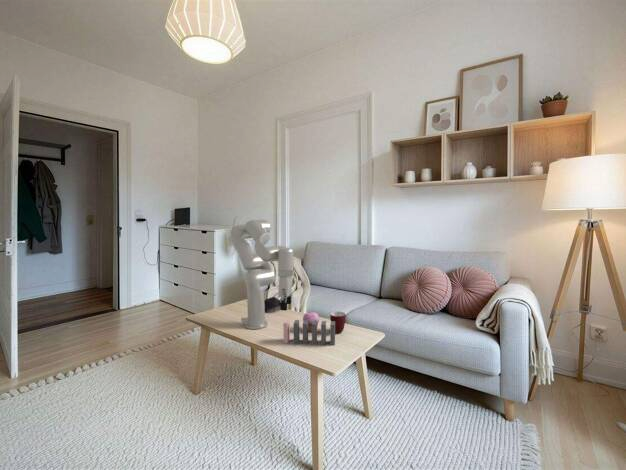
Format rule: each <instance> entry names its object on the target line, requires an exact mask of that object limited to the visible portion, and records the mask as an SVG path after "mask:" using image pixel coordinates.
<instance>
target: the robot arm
mask: <svg viewBox="0 0 626 470" xmlns="http://www.w3.org/2000/svg"><path fill="white" fill-rule="evenodd" d="M271 229H272V225H271V224H270V222H269V221H268V220H267V219H249V220H248V221H246V223H245V224H244V223H243V224H236V225H234V226H232V227H231V229H230V232H229V233H230V239H231V243H232V245H233V246H234V248H235V250H236V252H237V254H238V257H239V259H240V263H241V264H242V265H241V266H242V268H243V269H244V270H245V271H248V272H246V274H245V277H244V282H245V286H246V296H247V297H246V298H247V299H246V300H247V316H246V317H241V318H240V321H241V323H244V327H245V328H247V330H248V329H249V330H259V329H264V328H266V327H267V326H268V321H267V320H266V316H265V315H266V314H265V313H266V312H265V303H264V300H265V292H264V291H263V290H262V288H261V287H266V286H270V285H273V284H274V283H275V282H276V274H275V271H274V268H273V265H272V263H271V262H277V277H278V298H280V299H279V300H280V310H279V311H287V310H288V305H291V304H292V291H293V290H292V289H293V287H292V286H293V285H292V281H293V280H292V278H293V277H294V249H293V248H292V247H286V246H285V245H274V246H265V245H266V244H268V242H269V241H270V239H271V235H270V233H271ZM245 239H246V240H247V239H249V240H250V239H252V240H253V241H254V250H255V251H254V250H253V248H252V245H251V244H250V243H249V242H248V241H246V240H245Z"/></svg>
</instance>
